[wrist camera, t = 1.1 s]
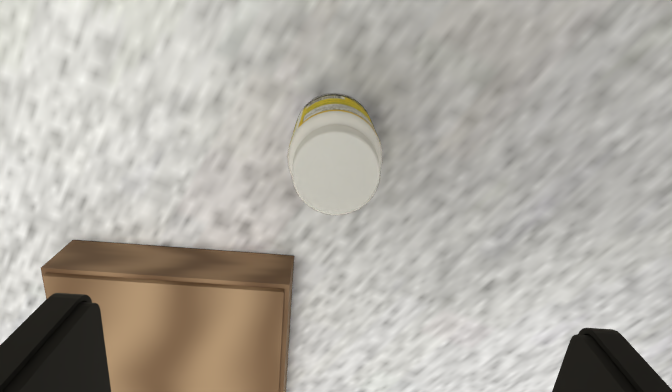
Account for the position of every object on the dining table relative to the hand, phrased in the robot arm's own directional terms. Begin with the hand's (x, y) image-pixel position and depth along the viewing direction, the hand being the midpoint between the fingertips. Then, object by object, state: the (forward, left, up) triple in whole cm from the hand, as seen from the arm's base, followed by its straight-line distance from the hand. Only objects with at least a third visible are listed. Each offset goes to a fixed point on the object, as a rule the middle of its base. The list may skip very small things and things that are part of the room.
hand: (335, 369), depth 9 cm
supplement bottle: (0, 0, -20) cm, 20 cm away
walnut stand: (+9, +15, -20) cm, 27 cm away
